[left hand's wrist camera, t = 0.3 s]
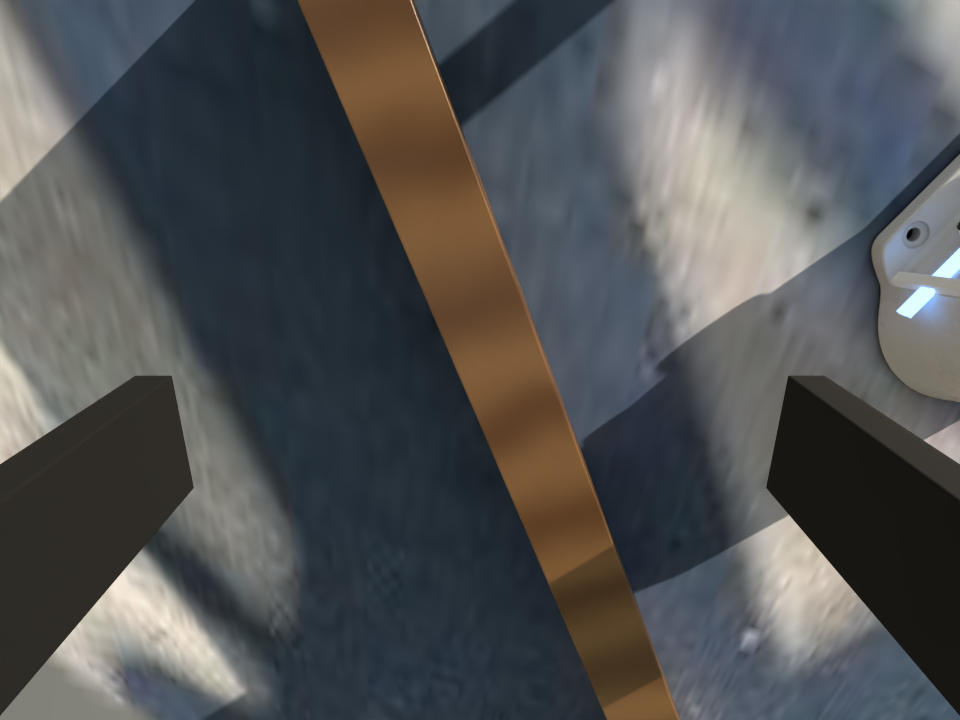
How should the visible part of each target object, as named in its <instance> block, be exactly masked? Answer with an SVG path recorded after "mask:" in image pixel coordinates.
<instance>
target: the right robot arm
mask: <svg viewBox="0 0 960 720" xmlns="http://www.w3.org/2000/svg"><path fill="white" fill-rule="evenodd" d="M910 229H912V235H911V236H910V238H908V239H907V237H906V236H907V233H908V231H909V230H910ZM871 256H872V262H873V266H874V269H875V272H876V275H877V278H878V280H879V283H880V288H881V296H880V306H879V314H878V335H879V341H880V346H881V349H882V353H883V355H884V357H885V360H886V362H887V364H888V365H889V367H890V368H891V370H892V371H893V372H894V374H895V375H896V376H897V377H898V378H899V379H900V380H901V381H902V382H903V383H904V384H906V385H907V386H908V387H910V388H911V389H913V390H915V391H917V392H919V393H921V394H923V395H926V396H929V397H932V398H936V399H941V400H949V401H955V402H960V154H959V155H958V156H957V157H956V158H955V159H954V160H953V161H952V162H951V163H950V164H949V165H948V166H947V167H946V168H945V169H944V170H943V171H942V172H941V173H940V174H939V175H938V176H937V177H936V178H935V179H934V180H933V181H932V182H931V183H930V184H929V185H928V186H927V187H926V188H925V189H924V190H923V191H922V192H921V193H920V194H919V195H918V196H917V197H916V198H915V199H914V200H913V201H912V202H911V203H910V204H909V205H908V206H907V207H906V208H905V209H904V210H903V211H902V212H901V213H900V214H899V215H898V216H897V217H896V218H895V219H894V220H893V221H892V222H891V223H890V224H889V225H888V226H887V227H886V228H885V229H884V230H883V231H882V232H881V233H880V234H879V235H878V237H877V238H876V239H875V241H874V243H873V245H872V250H871Z"/></svg>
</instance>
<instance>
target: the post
mask: <svg viewBox="0 0 960 720" xmlns="http://www.w3.org/2000/svg"><path fill="white" fill-rule="evenodd" d="M297 1H298V4H299V6H300V8H301V11H302V13H303V15H304V17H305V20H306V22H307V24H308V27H309V29H310V31H311V34H312V36H313V38H314V41H315V43H316V45H317V48H318V50H319V52H320V55H321V57H322V59H323V62H324V64H325V66H326V69H327V71H328V73H329V76H330V78H331V80H332V83H333V85H334V87H335V89H336V92H337V94H338V96H339V99H340V101H341V103H342V106H343V108H344V110H345V113H346V115H347V117H348V120H349V122H350V124H351V127H352V129H353V131H354V134H355V136H356V138H357V141H358V143H359V145H360V148H361V150H362V152H363V155H364V157H365V159H366V162H367V164H368V166H369V168H370V171H371V173H372V175H373V178H374V180H375V182H376V185H377V187H378V189H379V192H380V194H381V196H382V199H383V201H384V203H385V206H386V208H387V210H388V213H389V215H390V217H391V220H392V222H393V224H394V227H395V229H396V231H397V234H398V236H399V238H400V241H401V243H402V245H403V247H404V250H405V252H406V254H407V257H408V259H409V261H410V264H411V266H412V268H413V271H414V273H415V275H416V278H417V280H418V282H419V285H420V287H421V289H422V292H423V294H424V296H425V299H426V301H427V303H428V306H429V308H430V310H431V313H432V315H433V317H434V319H435V322H436V324H437V326H438V329H439V331H440V333H441V336H442V338H443V340H444V343H445V345H446V347H447V350H448V352H449V354H450V357H451V359H452V361H453V364H454V366H455V368H456V371H457V373H458V375H459V378H460V380H461V382H462V385H463V387H464V389H465V392H466V394H467V396H468V398H469V401H470V403H471V405H472V408H473V410H474V412H475V415H476V417H477V419H478V422H479V424H480V426H481V429H482V431H483V433H484V436H485V438H486V440H487V443H488V445H489V447H490V450H491V452H492V454H493V457H494V459H495V461H496V464H497V466H498V468H499V471H500V473H501V475H502V477H503V480H504V482H505V484H506V487H507V489H508V491H509V494H510V496H511V498H512V501H513V503H514V505H515V508H516V510H517V512H518V515H519V517H520V519H521V522H522V524H523V526H524V529H525V531H526V533H527V536H528V538H529V540H530V543H531V545H532V547H533V549H534V552H535V554H536V556H537V559H538V561H539V563H540V566H541V568H542V570H543V573H544V575H545V577H546V580H547V582H548V584H549V587H550V589H551V591H552V594H553V596H554V598H555V601H556V603H557V605H558V608H559V610H560V612H561V615H562V617H563V619H564V622H565V624H566V626H567V628H568V631H569V633H570V635H571V638H572V640H573V642H574V645H575V647H576V649H577V652H578V654H579V656H580V659H581V661H582V663H583V666H584V668H585V670H586V673H587V675H588V677H589V680H590V682H591V684H592V687H593V689H594V691H595V694H596V696H597V698H598V701H599V703H600V705H601V707H602V710H603V712H604V714H605V717H606V719H607V720H681V719H680V717H679V714H678V711H677V709H676V706H675V703H674V701H673V698H672V695H671V692H670V690H669V687H668V684H667V682H666V679H665V676H664V674H663V671H662V668H661V665H660V663H659V660H658V657H657V655H656V652H655V649H654V646H653V644H652V641H651V638H650V636H649V633H648V630H647V628H646V625H645V622H644V619H643V617H642V614H641V611H640V609H639V606H638V603H637V601H636V598H635V595H634V592H633V590H632V587H631V584H630V582H629V579H628V576H627V574H626V571H625V568H624V565H623V563H622V560H621V557H620V555H619V552H618V549H617V546H616V544H615V541H614V538H613V536H612V533H611V530H610V528H609V525H608V522H607V519H606V517H605V514H604V511H603V509H602V506H601V503H600V501H599V498H598V495H597V492H596V490H595V487H594V484H593V482H592V479H591V476H590V473H589V471H588V468H587V465H586V463H585V460H584V457H583V455H582V452H581V449H580V446H579V444H578V441H577V438H576V436H575V433H574V430H573V428H572V425H571V422H570V419H569V417H568V414H567V411H566V409H565V406H564V403H563V400H562V398H561V395H560V392H559V390H558V387H557V384H556V382H555V379H554V376H553V373H552V371H551V368H550V365H549V363H548V360H547V357H546V355H545V352H544V349H543V346H542V344H541V341H540V338H539V336H538V333H537V330H536V327H535V325H534V322H533V319H532V317H531V314H530V311H529V309H528V306H527V303H526V300H525V298H524V295H523V292H522V290H521V287H520V284H519V282H518V279H517V276H516V273H515V271H514V268H513V265H512V263H511V260H510V257H509V254H508V252H507V249H506V246H505V244H504V241H503V238H502V236H501V233H500V230H499V227H498V225H497V222H496V219H495V217H494V214H493V211H492V209H491V206H490V203H489V200H488V198H487V195H486V192H485V190H484V187H483V184H482V181H481V179H480V176H479V173H478V171H477V168H476V165H475V163H474V160H473V157H472V154H471V152H470V149H469V146H468V144H467V141H466V138H465V136H464V133H463V130H462V127H461V125H460V122H459V119H458V117H457V114H456V111H455V108H454V106H453V103H452V100H451V98H450V95H449V92H448V90H447V87H446V84H445V81H444V79H443V76H442V73H441V71H440V68H439V65H438V63H437V60H436V57H435V54H434V52H433V49H432V46H431V44H430V41H429V38H428V35H427V33H426V30H425V27H424V25H423V22H422V19H421V17H420V14H419V11H418V8H417V6H416V3H415V0H297Z"/></svg>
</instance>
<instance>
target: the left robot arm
mask: <svg viewBox="0 0 960 720" xmlns="http://www.w3.org/2000/svg"><path fill="white" fill-rule="evenodd" d="M193 488H194V487H193V482H192V477H191V472H190V467H189V462H188V456H187V451H186V446H185V441H184V436H183V431H182V426H181V421H180V416H179V411H178V406H177V401H176V396H175V391H174V385H173V380H172V376H135V377H133V378H132V379H130V380H129V381H127V382H125V383H124V384H122V385H121V386H119V387H118V388H116V389H115V390H113V391H112V392H110V393H109V394H107V395H106V396H104V397H103V398H101V399H99V400H98V401H96V402H95V403H93V404H92V405H90V406H89V407H87V408H86V409H84V410H83V411H81V412H80V413H78V414H77V415H75V416H73V417H72V418H70V419H69V420H67V421H66V422H64V423H63V424H61V425H60V426H58V427H57V428H55V429H54V430H52V431H51V432H49V433H47V434H46V435H44V436H43V437H41V438H40V439H38V440H37V441H35V442H34V443H32V444H31V445H29V446H28V447H26V448H25V449H23V450H21V451H20V452H18V453H17V454H15V455H14V456H12V457H11V458H9V459H8V460H6V461H5V462H3V463H2V464H0V715H1V714H2V713H3V712H4V710H5V709H6V708H7V707H8V706H9V705H10V703H11V702H12V701H13V700H14V699H15V698H16V696H17V695H18V694H19V693H20V692H21V690H22V689H23V688H24V687H25V686H26V685H27V683H28V682H29V681H30V680H31V679H32V678H33V676H34V675H35V674H36V673H37V672H38V670H39V669H40V668H41V667H42V666H43V665H44V663H45V662H46V661H47V660H48V659H49V657H50V656H51V655H52V654H53V653H54V652H55V650H56V649H57V648H58V647H59V646H60V645H61V643H62V642H63V641H64V640H65V639H66V637H67V636H68V635H69V634H70V633H71V632H72V630H73V629H74V628H75V627H76V626H77V625H78V623H79V622H80V621H81V620H82V619H83V617H84V616H85V615H86V614H87V613H88V612H89V610H90V609H91V608H92V607H93V606H94V605H95V603H96V602H97V601H98V600H99V599H100V597H101V596H102V595H103V594H104V593H105V592H106V590H107V589H108V588H109V587H110V586H111V584H112V583H113V582H114V581H115V580H116V579H117V577H118V576H119V575H120V574H121V573H122V572H123V570H124V569H125V568H126V567H127V566H128V564H129V563H130V562H131V561H132V560H133V559H134V557H135V556H136V555H137V554H138V553H139V552H140V550H141V549H142V548H143V547H144V546H145V544H146V543H147V542H148V541H149V540H150V539H151V537H152V536H153V535H154V534H155V533H156V532H157V530H158V529H159V528H160V527H161V526H162V524H163V523H164V522H165V521H166V520H167V519H168V517H169V516H170V515H171V514H172V513H173V512H174V510H175V509H176V508H177V507H178V506H179V504H180V503H181V502H182V501H183V500H184V499H185V497H186V496H187V495H188V494H189V493H190V491H191V490H192V489H193ZM766 488H767V489H768V490H769V491H770V493H771V494H772V495H773V496H774V497H775V499H776V500H777V501H778V502H779V503H780V504H781V506H782V507H783V508H784V509H785V510H786V512H787V513H788V514H789V515H790V516H791V517H792V519H793V520H794V521H795V522H796V523H797V524H798V526H799V527H800V528H801V529H802V530H803V532H804V533H805V534H806V535H807V536H808V537H809V539H810V540H811V541H812V542H813V543H814V544H815V546H816V547H817V548H818V549H819V550H820V552H821V553H822V554H823V555H824V556H825V557H826V559H827V560H828V561H829V562H830V563H831V564H832V566H833V567H834V568H835V569H836V570H837V572H838V573H839V574H840V575H841V576H842V577H843V579H844V580H845V581H846V582H847V583H848V585H849V586H850V587H851V588H852V589H853V590H854V592H855V593H856V594H857V595H858V596H859V597H860V599H861V600H862V601H863V602H864V603H865V605H866V606H867V607H868V608H869V609H870V610H871V612H872V613H873V614H874V615H875V616H876V617H877V619H878V620H879V621H880V622H881V623H882V625H883V626H884V627H885V628H886V629H887V630H888V632H889V633H890V634H891V635H892V636H893V637H894V639H895V640H896V641H897V642H898V643H899V645H900V646H901V647H902V648H903V649H904V650H905V652H906V653H907V654H908V655H909V656H910V657H911V659H912V660H913V661H914V662H915V663H916V665H917V666H918V667H919V668H920V669H921V670H922V672H923V673H924V674H925V675H926V676H927V678H928V679H929V680H930V681H931V682H932V683H933V685H934V686H935V687H936V688H937V689H938V690H939V692H940V693H941V694H942V695H943V696H944V698H945V699H946V700H947V701H948V702H949V703H950V705H951V706H952V707H953V708H954V709H955V710H956V712H957V713H958V714H959V715H960V464H958V463H957V462H955V461H954V460H952V459H951V458H949V457H948V456H946V455H945V454H943V453H942V452H940V451H939V450H937V449H935V448H934V447H932V446H931V445H929V444H928V443H926V442H925V441H923V440H922V439H920V438H919V437H917V436H916V435H914V434H913V433H911V432H909V431H908V430H906V429H905V428H903V427H902V426H900V425H899V424H897V423H896V422H894V421H893V420H891V419H890V418H888V417H887V416H885V415H883V414H882V413H880V412H879V411H877V410H876V409H874V408H873V407H871V406H870V405H868V404H867V403H865V402H864V401H862V400H861V399H859V398H857V397H856V396H854V395H853V394H851V393H850V392H848V391H847V390H845V389H844V388H842V387H841V386H839V385H838V384H836V383H835V382H833V381H831V380H830V379H828V378H827V377H825V376H788V380H787V385H786V391H785V396H784V401H783V406H782V411H781V416H780V421H779V426H778V431H777V436H776V441H775V446H774V451H773V456H772V462H771V467H770V472H769V477H768V482H767V487H766Z"/></svg>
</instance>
